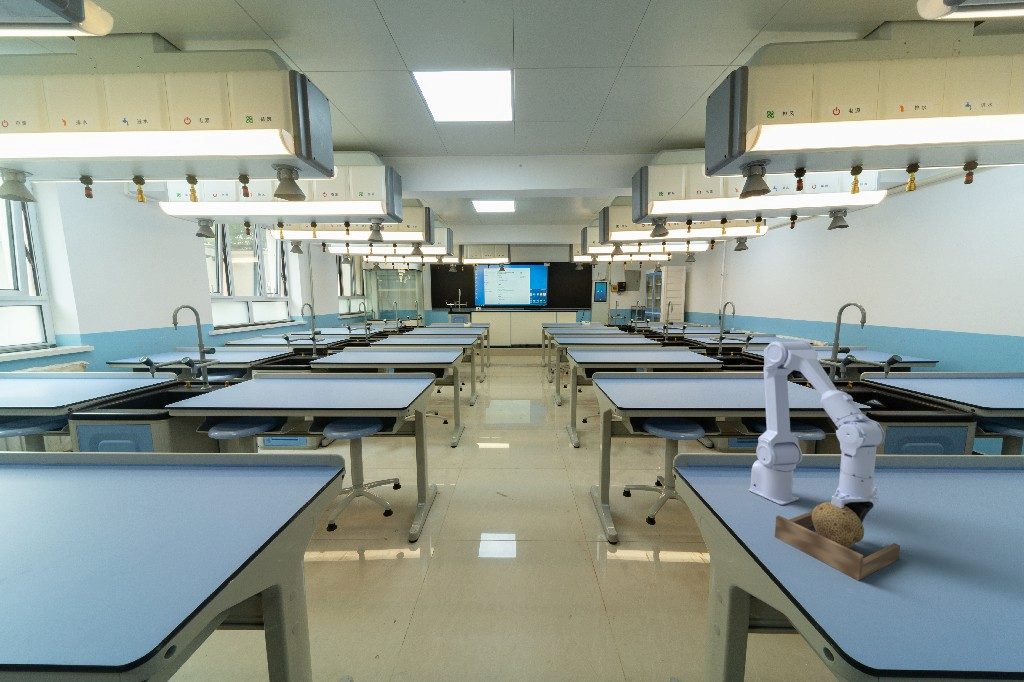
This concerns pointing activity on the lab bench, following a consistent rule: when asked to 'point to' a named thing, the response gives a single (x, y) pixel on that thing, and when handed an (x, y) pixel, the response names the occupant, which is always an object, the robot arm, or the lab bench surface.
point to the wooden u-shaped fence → (832, 548)
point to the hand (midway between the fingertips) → (851, 530)
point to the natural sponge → (837, 524)
